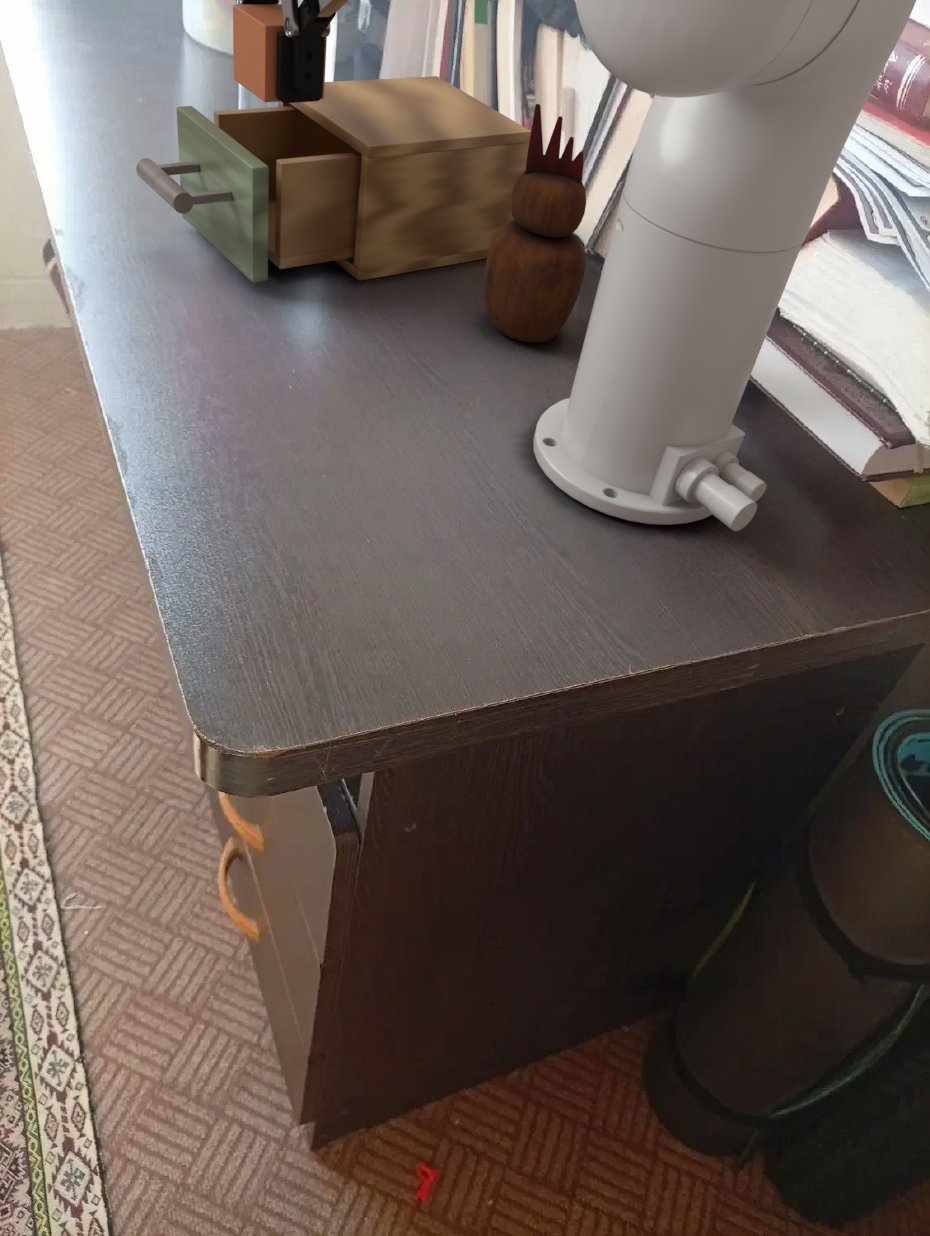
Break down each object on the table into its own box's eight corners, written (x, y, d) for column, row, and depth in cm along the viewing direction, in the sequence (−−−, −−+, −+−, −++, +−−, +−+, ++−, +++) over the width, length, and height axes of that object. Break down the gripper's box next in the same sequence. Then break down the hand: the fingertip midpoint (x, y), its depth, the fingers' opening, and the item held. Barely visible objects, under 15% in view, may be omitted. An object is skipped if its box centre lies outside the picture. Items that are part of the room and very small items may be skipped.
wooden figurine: (463, 329, 69) (499, 103, 59) (497, 301, 73) (537, 85, 63) (548, 362, 68) (600, 136, 57) (579, 332, 72) (633, 115, 61)
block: (324, 99, 66) (328, 24, 63) (264, 102, 64) (265, 25, 61) (291, 76, 69) (293, 3, 66) (233, 79, 66) (232, 3, 63)
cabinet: (358, 281, 72) (368, 146, 66) (276, 212, 79) (278, 83, 72) (509, 254, 80) (532, 131, 73) (423, 194, 86) (436, 75, 80)
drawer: (195, 292, 66) (189, 174, 60) (126, 223, 72) (115, 109, 66) (412, 256, 75) (424, 150, 69) (335, 197, 81) (341, 96, 75)
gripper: (157, -305, 56) (174, 47, 69) (303, -256, 47) (292, 137, 60) (273, -285, 60) (269, 45, 73) (429, -237, 51) (393, 128, 64)
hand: (279, 83), depth 66 cm, fingers closed on block, 4 cm apart
